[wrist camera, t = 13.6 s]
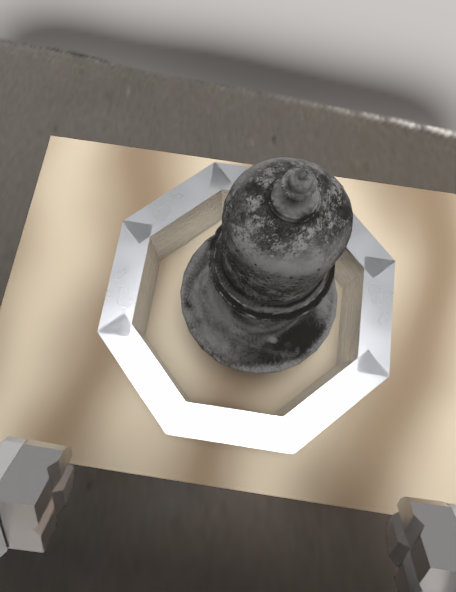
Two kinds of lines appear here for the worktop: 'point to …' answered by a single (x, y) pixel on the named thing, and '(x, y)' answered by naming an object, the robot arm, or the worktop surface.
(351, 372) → the metal collar
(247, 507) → the worktop surface
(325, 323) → the dark grey turned piece
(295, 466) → the carrier plate
